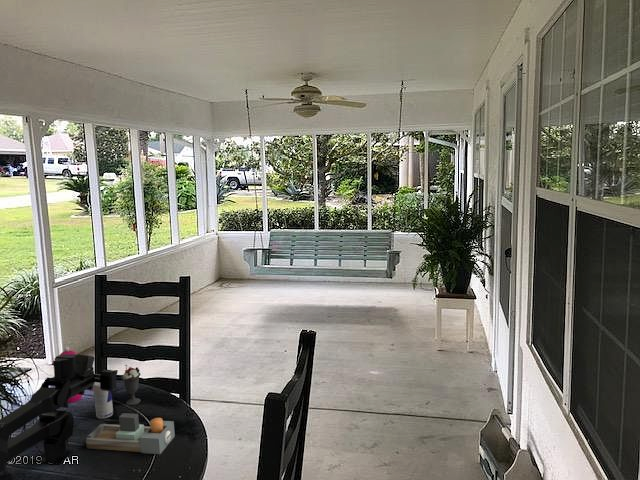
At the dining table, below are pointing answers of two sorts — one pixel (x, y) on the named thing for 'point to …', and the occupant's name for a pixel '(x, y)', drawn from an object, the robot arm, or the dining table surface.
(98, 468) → the dining table surface
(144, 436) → the cabinet
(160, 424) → the button
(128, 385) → the sundae
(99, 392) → the energy drink
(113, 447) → the rail board
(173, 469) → the dining table surface
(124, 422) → the carriage
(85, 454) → the dining table surface
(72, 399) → the pepper mill
